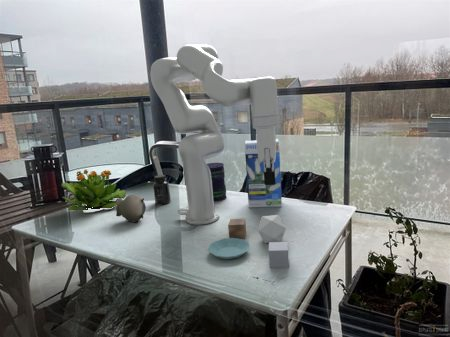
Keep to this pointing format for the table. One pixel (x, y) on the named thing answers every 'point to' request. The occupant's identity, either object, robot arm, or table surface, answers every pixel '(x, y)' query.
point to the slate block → (278, 255)
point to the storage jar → (218, 181)
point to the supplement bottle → (161, 190)
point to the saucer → (229, 248)
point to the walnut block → (237, 228)
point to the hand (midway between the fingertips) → (270, 184)
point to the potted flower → (93, 191)
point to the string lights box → (261, 179)
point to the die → (271, 228)
